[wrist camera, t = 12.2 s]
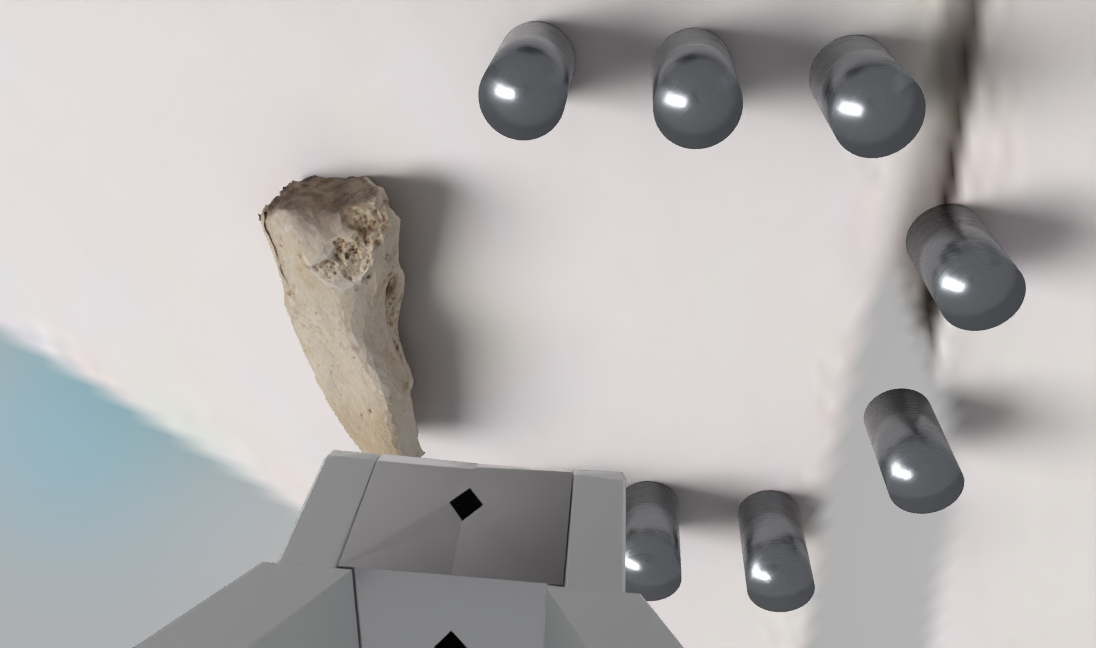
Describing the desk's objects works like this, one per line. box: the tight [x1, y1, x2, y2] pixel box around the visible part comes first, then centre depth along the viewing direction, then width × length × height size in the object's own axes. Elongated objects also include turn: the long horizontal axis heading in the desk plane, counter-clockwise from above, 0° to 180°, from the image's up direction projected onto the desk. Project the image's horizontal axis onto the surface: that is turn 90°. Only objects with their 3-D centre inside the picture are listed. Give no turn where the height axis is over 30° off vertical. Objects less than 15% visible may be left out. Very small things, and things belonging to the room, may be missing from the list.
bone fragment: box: [258, 175, 425, 458], centre depth 41 cm, size 14×6×5 cm, turn 3°
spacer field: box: [479, 22, 1026, 612], centre depth 39 cm, size 20×25×5 cm
